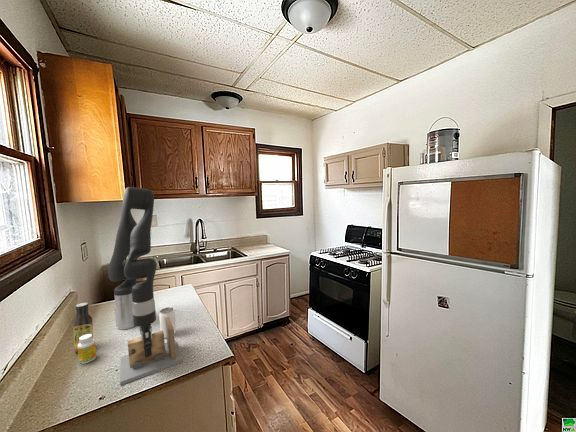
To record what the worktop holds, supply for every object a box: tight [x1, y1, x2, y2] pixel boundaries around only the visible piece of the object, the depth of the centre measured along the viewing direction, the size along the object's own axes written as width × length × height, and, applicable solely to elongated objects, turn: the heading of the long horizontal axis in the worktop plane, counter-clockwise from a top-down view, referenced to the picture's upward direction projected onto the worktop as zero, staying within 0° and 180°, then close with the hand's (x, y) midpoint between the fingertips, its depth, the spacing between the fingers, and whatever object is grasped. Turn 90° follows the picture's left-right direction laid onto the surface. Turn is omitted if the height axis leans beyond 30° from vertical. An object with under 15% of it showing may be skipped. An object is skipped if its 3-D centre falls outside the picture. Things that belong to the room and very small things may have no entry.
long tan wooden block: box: [127, 331, 166, 368], centre depth 95 cm, size 12×4×9 cm, turn 124°
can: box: [158, 306, 177, 339], centre depth 114 cm, size 6×6×12 cm
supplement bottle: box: [77, 334, 97, 365], centre depth 98 cm, size 5×5×10 cm
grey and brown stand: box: [119, 317, 183, 386], centre depth 95 cm, size 20×16×13 cm
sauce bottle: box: [73, 302, 94, 354], centre depth 104 cm, size 7×6×20 cm
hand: (147, 350), depth 95 cm, fingers open, 8 cm apart
